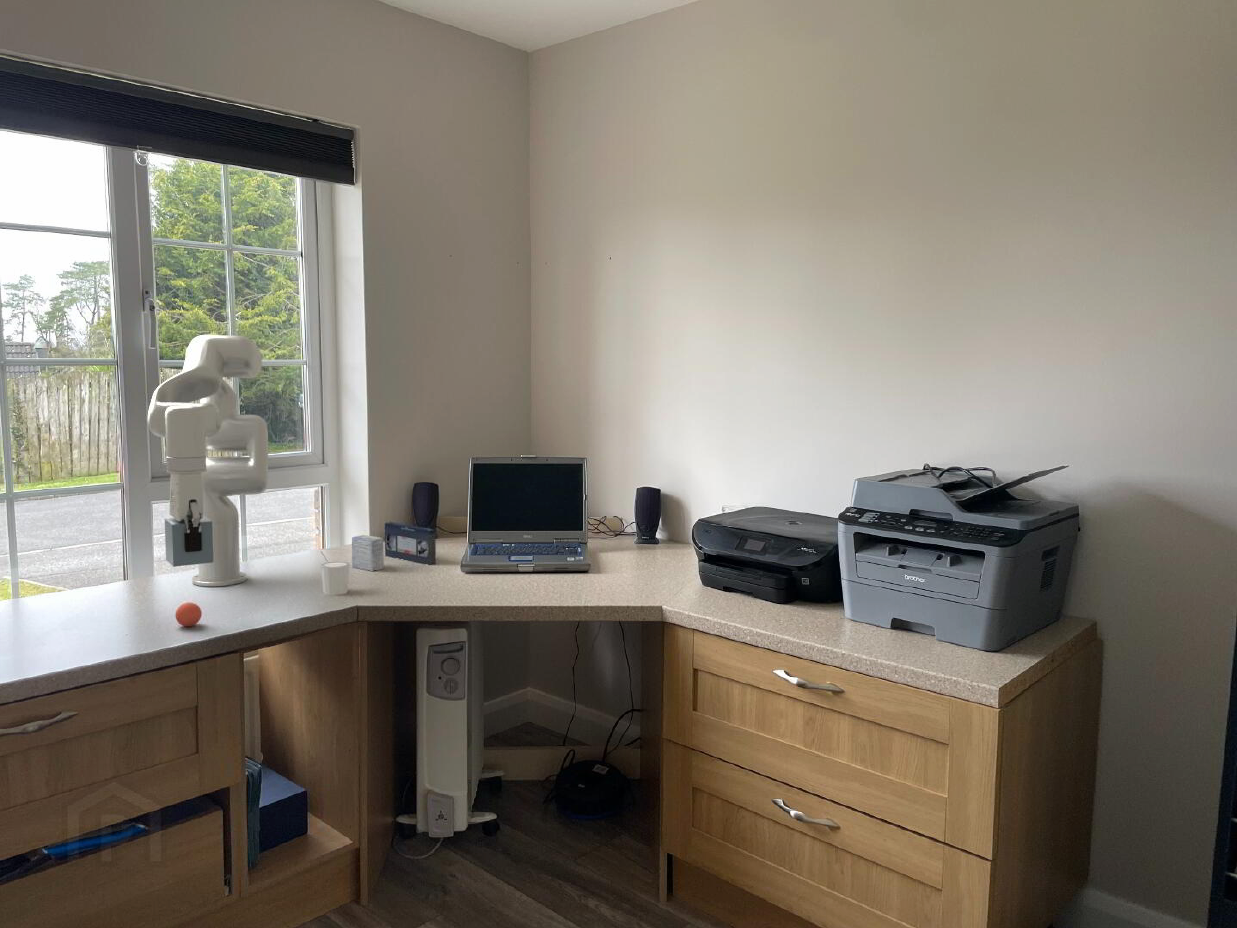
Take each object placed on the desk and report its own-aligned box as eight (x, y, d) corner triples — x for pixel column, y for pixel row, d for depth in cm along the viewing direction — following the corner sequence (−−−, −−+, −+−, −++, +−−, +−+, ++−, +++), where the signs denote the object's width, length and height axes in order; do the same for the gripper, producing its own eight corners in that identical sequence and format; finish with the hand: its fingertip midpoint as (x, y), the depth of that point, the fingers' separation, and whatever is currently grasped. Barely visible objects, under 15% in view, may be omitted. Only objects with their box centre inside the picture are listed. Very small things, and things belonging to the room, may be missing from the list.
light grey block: (384, 569, 247) (384, 537, 246) (371, 572, 243) (371, 540, 242) (364, 564, 251) (364, 534, 250) (351, 567, 247) (351, 536, 246)
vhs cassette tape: (384, 556, 262) (384, 522, 261) (392, 554, 265) (392, 521, 264) (428, 566, 252) (428, 531, 251) (436, 564, 254) (436, 529, 253)
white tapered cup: (341, 596, 217) (341, 568, 217) (315, 594, 219) (315, 566, 218) (355, 589, 224) (355, 562, 223) (329, 587, 225) (329, 560, 225)
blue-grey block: (166, 559, 191) (164, 518, 190) (205, 555, 196) (203, 515, 195) (173, 566, 185) (171, 524, 184) (213, 562, 190) (212, 521, 189)
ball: (188, 595, 193) (201, 612, 195) (167, 611, 190) (181, 628, 192) (195, 599, 189) (209, 617, 191) (174, 615, 187) (189, 633, 189)
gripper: (158, 461, 193) (161, 542, 195) (175, 470, 179) (178, 557, 181) (196, 459, 197) (198, 538, 199) (215, 468, 183) (217, 553, 185)
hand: (188, 547), depth 190 cm, fingers closed on blue-grey block, 7 cm apart
